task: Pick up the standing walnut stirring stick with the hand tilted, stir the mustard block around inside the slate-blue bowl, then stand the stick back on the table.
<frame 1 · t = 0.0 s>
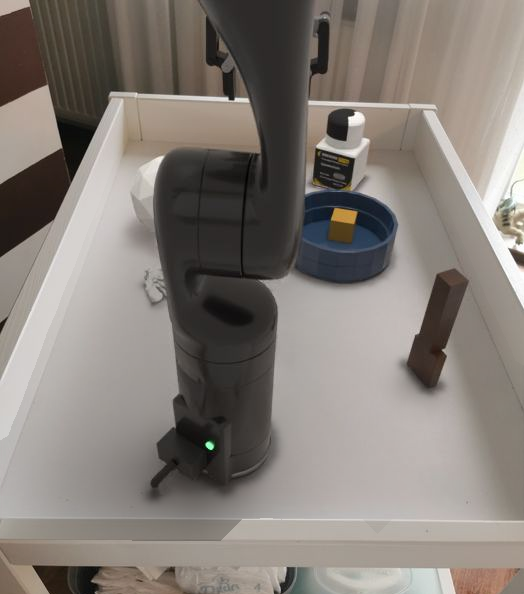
hand: (266, 100, 74), 22 cm above the table, tool pointing down, fingers open, 8 cm apart
flower: (170, 290, 83), on the table
stick: (421, 373, 73), on the table
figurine: (192, 235, 92), on the table
bowl: (336, 250, 91), on the table
block: (341, 235, 92), point 1 cm above the table, touching bowl
medicine bottle: (338, 181, 105), on the table
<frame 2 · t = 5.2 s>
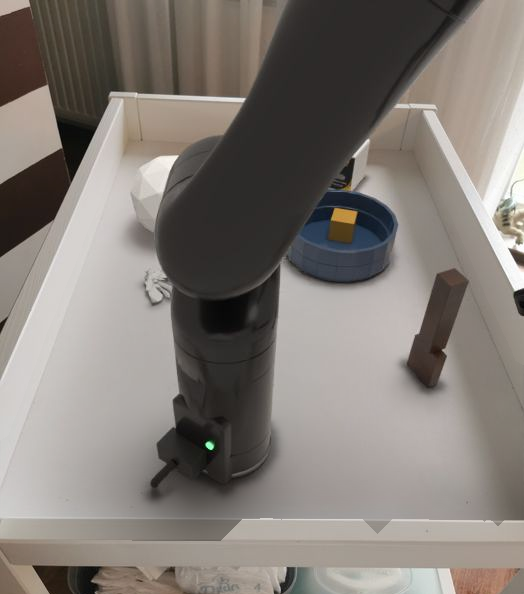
nothing on the table moved.
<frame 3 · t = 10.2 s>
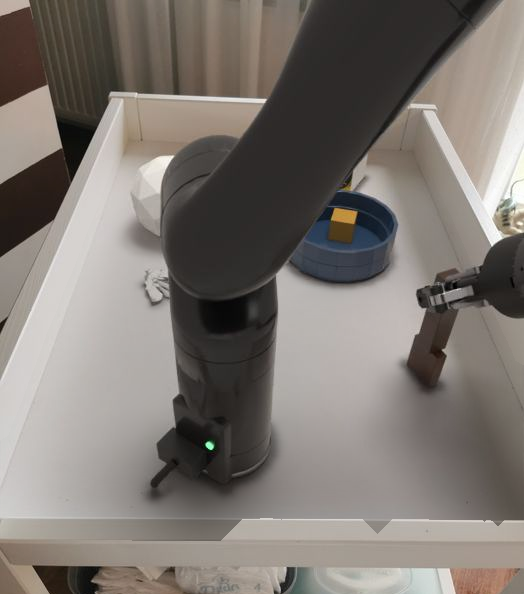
hand: (431, 295, 67), 11 cm above the table, tool tilted 45°, fingers closed on stick, 2 cm apart
stick: (421, 373, 73), on the table, touching gripper
everything else where it was.
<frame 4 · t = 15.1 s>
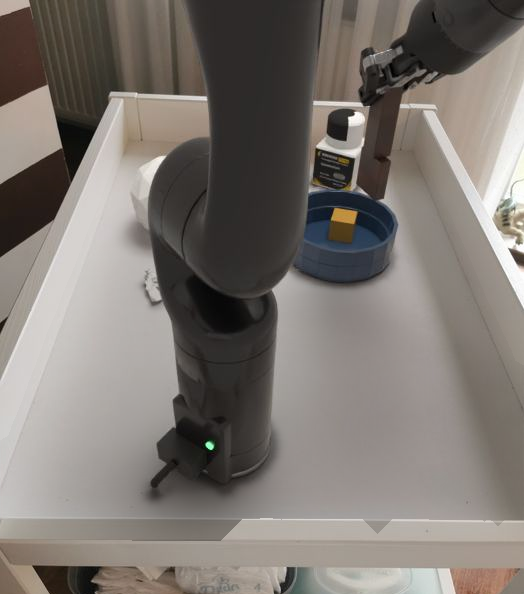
hand: (374, 96, 68), 26 cm above the table, tool tilted 45°, fingers closed on stick, 2 cm apart
stick: (369, 191, 74), point 15 cm above the table, touching gripper
everything else where it was.
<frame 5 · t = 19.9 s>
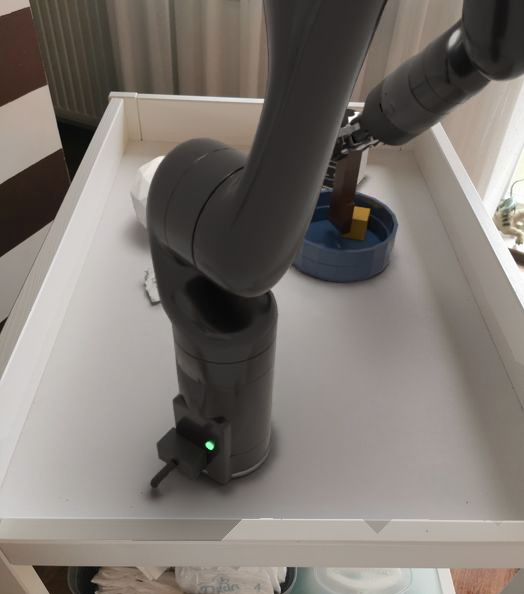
hand: (341, 152, 84), 14 cm above the table, tool tilted 45°, fingers closed on stick, 2 cm apart
stick: (338, 226, 90), point 3 cm above the table, touching block, gripper
block: (354, 232, 93), point 1 cm above the table, touching bowl, stick
everything else where it was.
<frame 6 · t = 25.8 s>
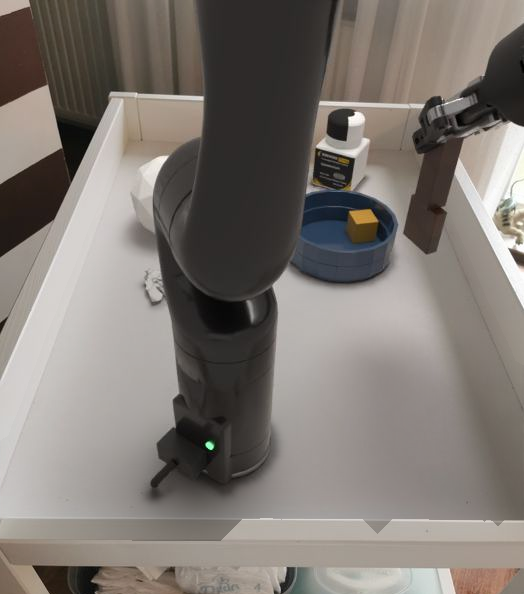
hand: (429, 141, 60), 26 cm above the table, tool tilted 45°, fingers closed on stick, 2 cm apart
stick: (419, 242, 66), point 15 cm above the table, touching gripper
block: (360, 235, 92), point 1 cm above the table, touching bowl
everything else where it was.
when the fingers open (11 cm above the table, at t = 30.9 s): stick stays where it is, on the table.
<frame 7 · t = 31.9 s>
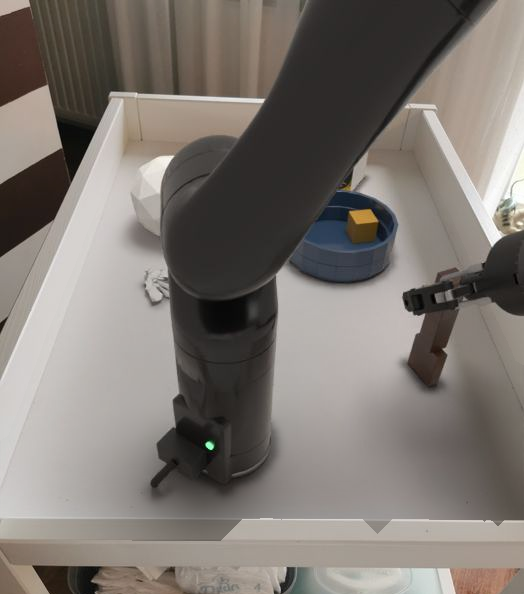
hand: (439, 291, 65), 12 cm above the table, tool tilted 45°, fingers open, 8 cm apart
stick: (422, 373, 73), on the table
everything else where it was.
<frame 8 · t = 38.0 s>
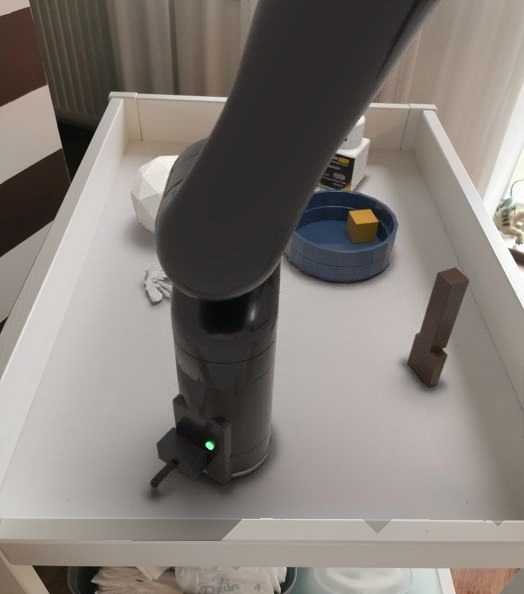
nothing on the table moved.
at the end: block moved 2.9 cm from its start; block inside the target area in the bowl (4.8 cm from its centre), point 0.6 cm above the bowl's base; the gripper is holding nothing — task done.
